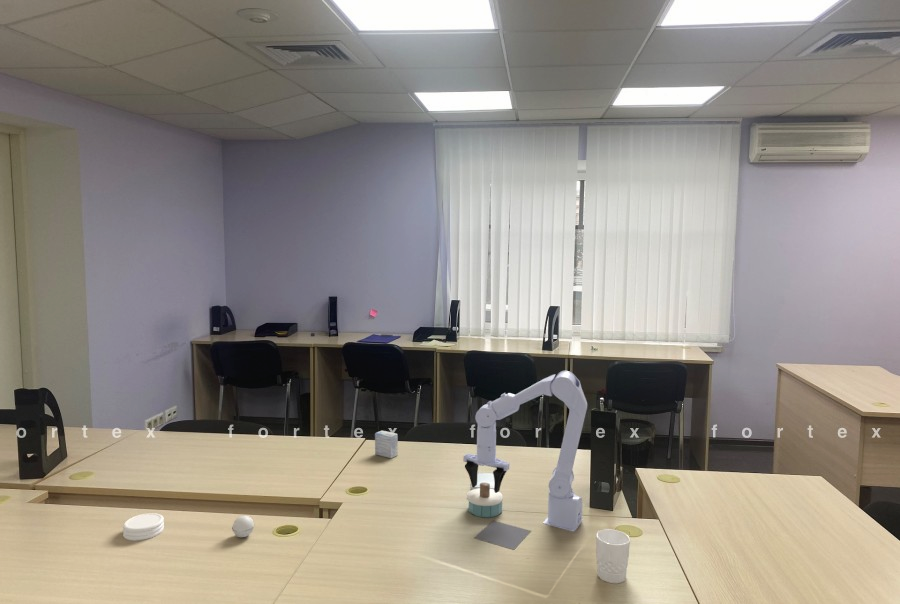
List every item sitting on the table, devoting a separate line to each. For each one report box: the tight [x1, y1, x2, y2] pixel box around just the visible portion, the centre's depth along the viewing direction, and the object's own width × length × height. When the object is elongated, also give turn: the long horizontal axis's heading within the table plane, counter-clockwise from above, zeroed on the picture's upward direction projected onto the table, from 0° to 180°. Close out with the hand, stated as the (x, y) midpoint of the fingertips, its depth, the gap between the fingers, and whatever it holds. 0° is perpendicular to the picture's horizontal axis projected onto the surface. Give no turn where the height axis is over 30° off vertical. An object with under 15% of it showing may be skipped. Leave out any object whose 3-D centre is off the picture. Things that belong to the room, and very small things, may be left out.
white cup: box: [595, 528, 631, 584], centre depth 140 cm, size 8×8×10 cm
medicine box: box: [374, 430, 399, 459], centre depth 220 cm, size 8×4×9 cm, turn 58°
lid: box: [466, 483, 504, 506], centre depth 173 cm, size 11×11×4 cm
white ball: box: [231, 515, 255, 538], centre depth 156 cm, size 8×6×6 cm
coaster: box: [122, 512, 165, 542], centre depth 158 cm, size 10×10×4 cm
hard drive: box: [470, 472, 494, 491], centre depth 195 cm, size 2×8×12 cm
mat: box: [473, 520, 532, 551], centre depth 159 cm, size 12×12×1 cm
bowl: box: [468, 501, 503, 518], centre depth 174 cm, size 10×10×4 cm
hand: (485, 488), depth 173 cm, fingers open, 7 cm apart
